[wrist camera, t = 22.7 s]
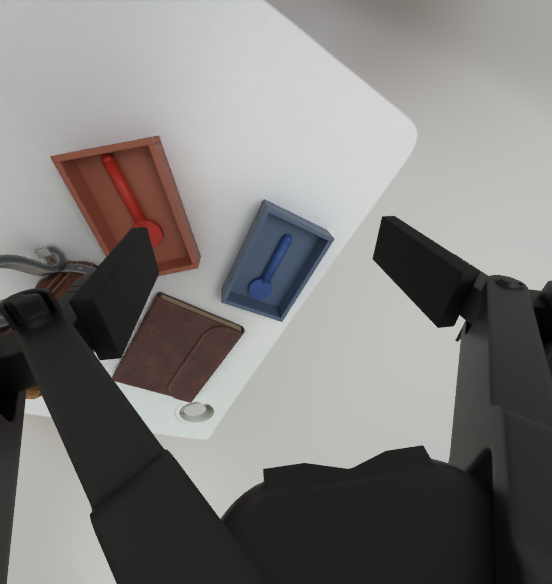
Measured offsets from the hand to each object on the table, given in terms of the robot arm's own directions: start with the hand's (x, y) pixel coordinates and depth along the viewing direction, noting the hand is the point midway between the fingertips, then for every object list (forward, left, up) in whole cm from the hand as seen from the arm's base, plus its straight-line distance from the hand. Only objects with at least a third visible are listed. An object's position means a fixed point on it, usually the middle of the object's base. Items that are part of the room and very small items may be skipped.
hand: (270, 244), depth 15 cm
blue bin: (-1, +12, -22) cm, 25 cm away
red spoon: (+14, 0, -22) cm, 26 cm away
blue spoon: (-1, +13, -22) cm, 25 cm away
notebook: (+18, +26, -22) cm, 38 cm away
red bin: (+14, +2, -22) cm, 26 cm away
